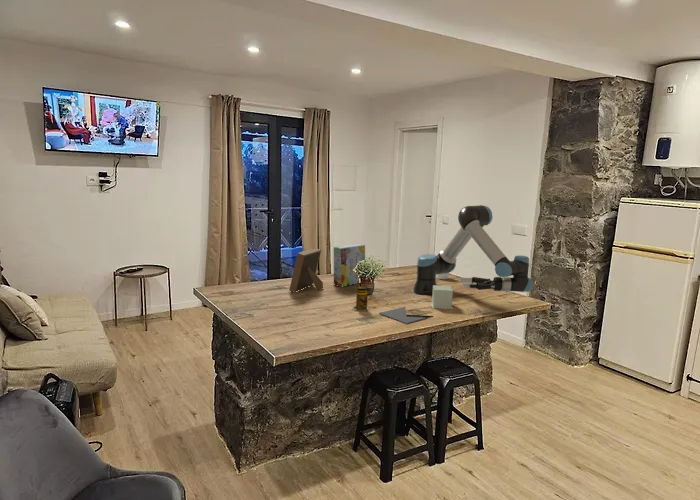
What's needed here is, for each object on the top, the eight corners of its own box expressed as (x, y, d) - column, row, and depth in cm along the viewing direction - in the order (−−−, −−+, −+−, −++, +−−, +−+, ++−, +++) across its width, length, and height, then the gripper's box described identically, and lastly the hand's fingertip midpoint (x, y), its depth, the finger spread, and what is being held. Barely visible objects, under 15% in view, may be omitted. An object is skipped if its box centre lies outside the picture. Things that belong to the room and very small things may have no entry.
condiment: (365, 311, 248) (366, 289, 246) (350, 309, 250) (351, 288, 248) (369, 307, 255) (370, 286, 253) (354, 306, 257) (355, 285, 255)
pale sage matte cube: (433, 307, 252) (434, 289, 251) (431, 302, 262) (432, 285, 260) (451, 308, 251) (452, 290, 250) (449, 303, 261) (450, 286, 259)
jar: (441, 280, 324) (442, 263, 322) (433, 277, 331) (434, 261, 329) (451, 278, 329) (452, 262, 327) (442, 276, 336) (443, 260, 334)
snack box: (356, 280, 318) (357, 243, 313) (365, 282, 311) (366, 244, 307) (332, 285, 303) (333, 246, 299) (341, 287, 297) (342, 248, 292)
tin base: (432, 310, 252) (432, 300, 251) (430, 304, 263) (431, 295, 262) (452, 311, 251) (453, 301, 250) (450, 305, 262) (451, 296, 261)
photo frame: (289, 292, 283) (289, 251, 278) (307, 284, 302) (307, 246, 298) (310, 295, 277) (311, 254, 272) (327, 287, 296) (328, 249, 292)
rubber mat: (378, 313, 244) (379, 312, 244) (405, 307, 256) (405, 306, 256) (406, 324, 229) (406, 322, 228) (433, 316, 241) (433, 315, 241)
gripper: (506, 296, 239) (464, 294, 241) (496, 285, 264) (458, 284, 266) (507, 282, 238) (465, 280, 240) (497, 272, 263) (459, 271, 265)
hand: (461, 282), depth 253 cm, fingers open, 13 cm apart
